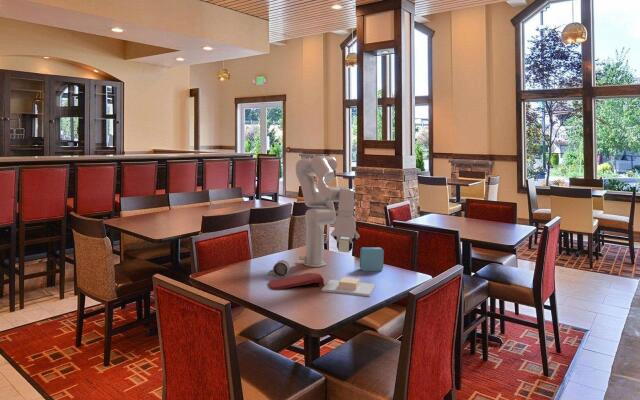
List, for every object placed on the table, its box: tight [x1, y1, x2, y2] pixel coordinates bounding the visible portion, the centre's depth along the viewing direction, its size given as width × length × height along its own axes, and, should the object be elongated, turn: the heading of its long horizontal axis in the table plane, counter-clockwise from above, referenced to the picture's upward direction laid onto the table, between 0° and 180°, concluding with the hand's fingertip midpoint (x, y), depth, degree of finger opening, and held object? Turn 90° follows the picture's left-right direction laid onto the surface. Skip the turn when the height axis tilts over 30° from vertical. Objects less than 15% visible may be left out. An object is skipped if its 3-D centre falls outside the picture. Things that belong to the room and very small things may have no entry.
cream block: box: [337, 237, 350, 253], centre depth 229 cm, size 5×5×6 cm
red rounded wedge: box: [268, 272, 325, 290], centre depth 219 cm, size 12×5×25 cm
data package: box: [359, 246, 385, 272], centre depth 248 cm, size 12×4×12 cm, turn 96°
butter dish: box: [321, 276, 376, 297], centre depth 215 cm, size 22×16×4 cm
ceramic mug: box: [267, 259, 290, 278], centre depth 234 cm, size 11×8×8 cm
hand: (344, 249), depth 229 cm, fingers closed on cream block, 4 cm apart
